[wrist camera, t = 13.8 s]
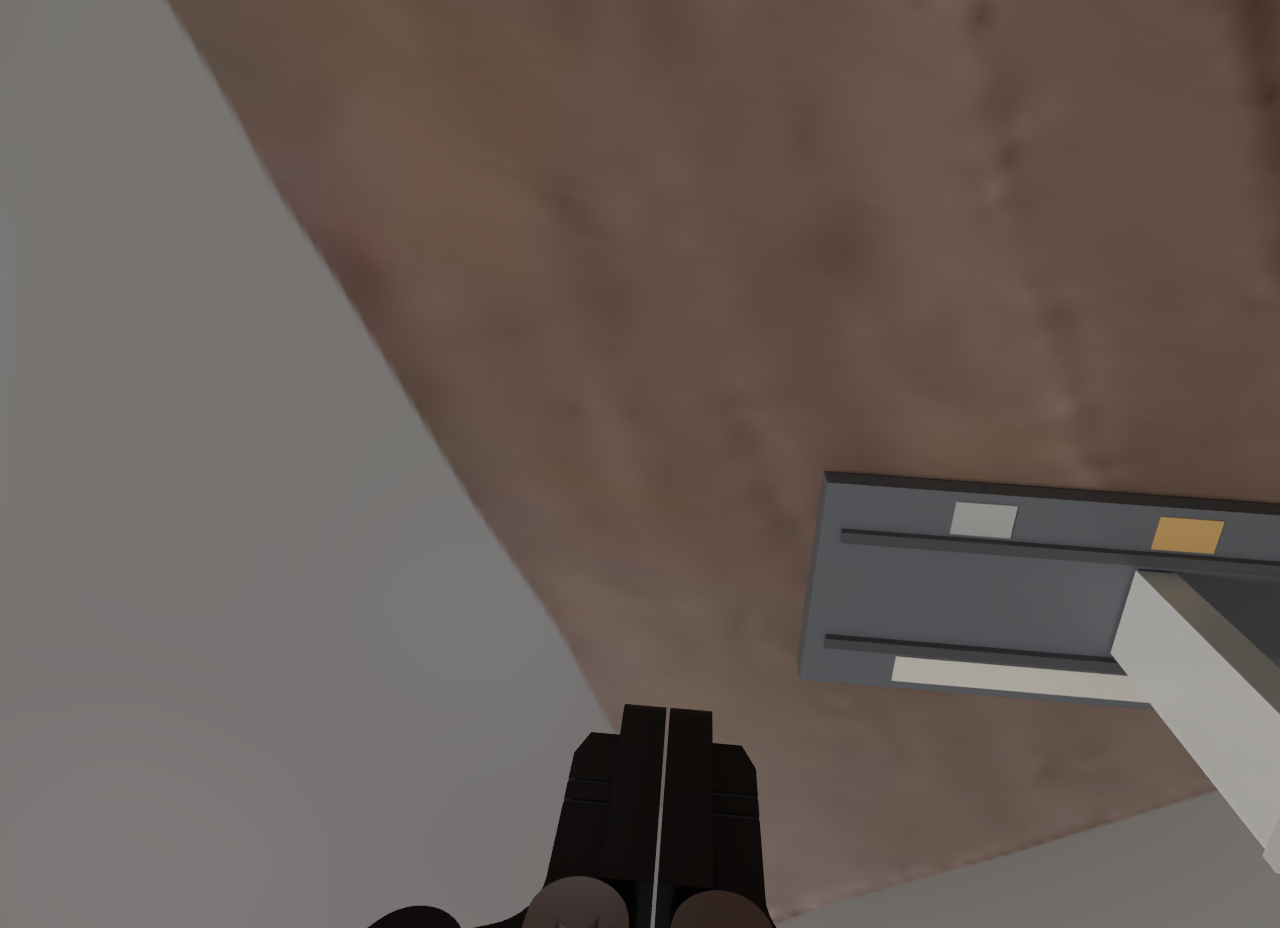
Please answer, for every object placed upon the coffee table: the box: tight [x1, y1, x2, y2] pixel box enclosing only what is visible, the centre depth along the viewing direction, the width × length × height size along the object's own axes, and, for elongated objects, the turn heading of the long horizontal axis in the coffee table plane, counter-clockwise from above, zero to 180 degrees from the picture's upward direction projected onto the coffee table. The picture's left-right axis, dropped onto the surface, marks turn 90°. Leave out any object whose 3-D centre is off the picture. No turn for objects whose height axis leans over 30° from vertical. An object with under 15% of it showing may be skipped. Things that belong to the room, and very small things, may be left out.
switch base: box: [797, 472, 1280, 710], centre depth 43 cm, size 26×12×2 cm, turn 87°
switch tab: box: [1111, 570, 1280, 873], centre depth 36 cm, size 2×5×14 cm, turn 177°
